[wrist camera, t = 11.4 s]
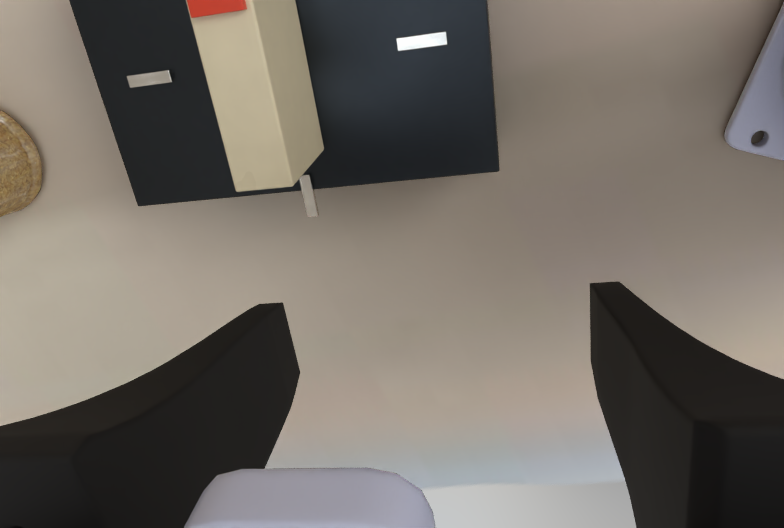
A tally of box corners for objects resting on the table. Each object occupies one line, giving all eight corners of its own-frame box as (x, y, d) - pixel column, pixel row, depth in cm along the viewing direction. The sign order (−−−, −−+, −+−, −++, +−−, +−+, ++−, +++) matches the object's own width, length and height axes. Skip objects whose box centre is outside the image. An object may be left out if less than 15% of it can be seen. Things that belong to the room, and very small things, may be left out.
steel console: (475, -157, 18) (473, -182, 15) (499, 164, 22) (501, 200, 19) (105, -86, 20) (33, -93, 17) (189, 195, 24) (143, 232, 21)
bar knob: (325, 149, 19) (290, 190, 16) (275, 155, 19) (231, 196, 16) (286, -49, 17) (236, -51, 14) (231, -39, 17) (169, -39, 14)
